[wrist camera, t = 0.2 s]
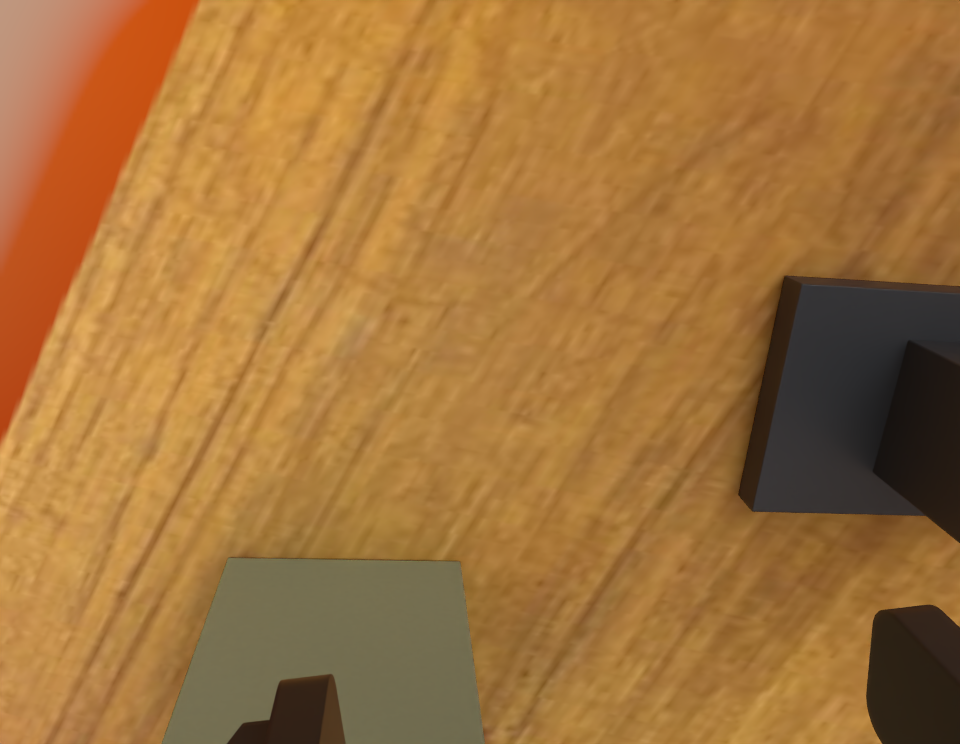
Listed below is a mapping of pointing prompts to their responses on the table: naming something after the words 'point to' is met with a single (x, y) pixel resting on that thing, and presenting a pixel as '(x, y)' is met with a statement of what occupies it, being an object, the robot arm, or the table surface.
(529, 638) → the table surface
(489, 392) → the table surface
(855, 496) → the stand
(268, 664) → the green block
